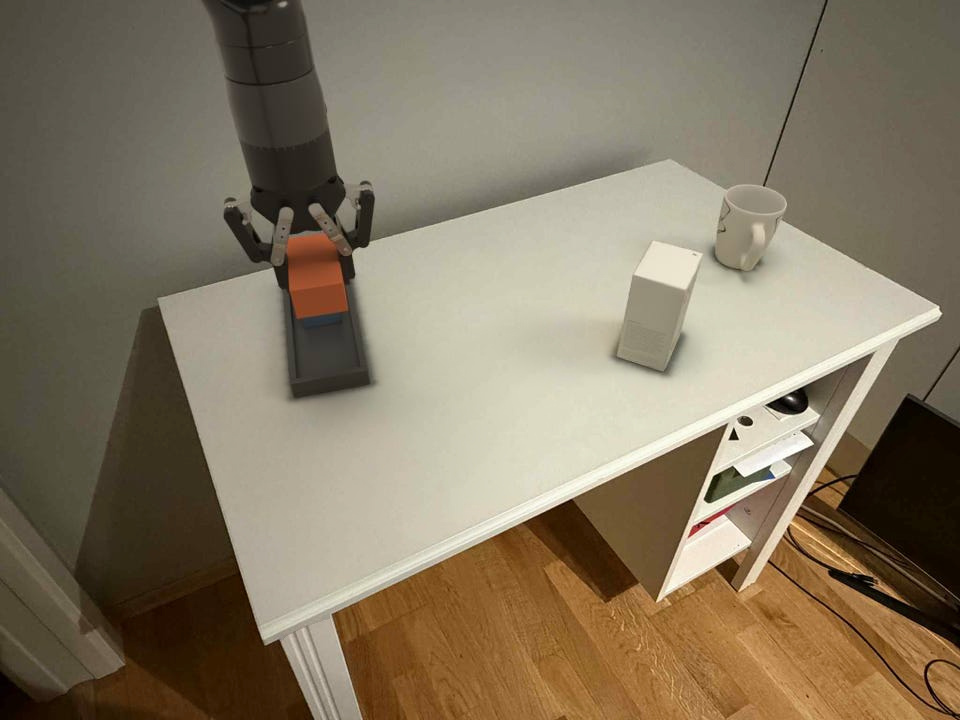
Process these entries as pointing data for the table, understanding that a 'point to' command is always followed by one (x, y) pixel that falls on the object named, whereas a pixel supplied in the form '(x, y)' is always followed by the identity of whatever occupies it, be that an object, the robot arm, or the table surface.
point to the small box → (658, 304)
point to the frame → (325, 352)
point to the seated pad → (322, 319)
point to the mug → (747, 224)
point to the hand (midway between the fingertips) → (319, 283)
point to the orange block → (315, 276)
